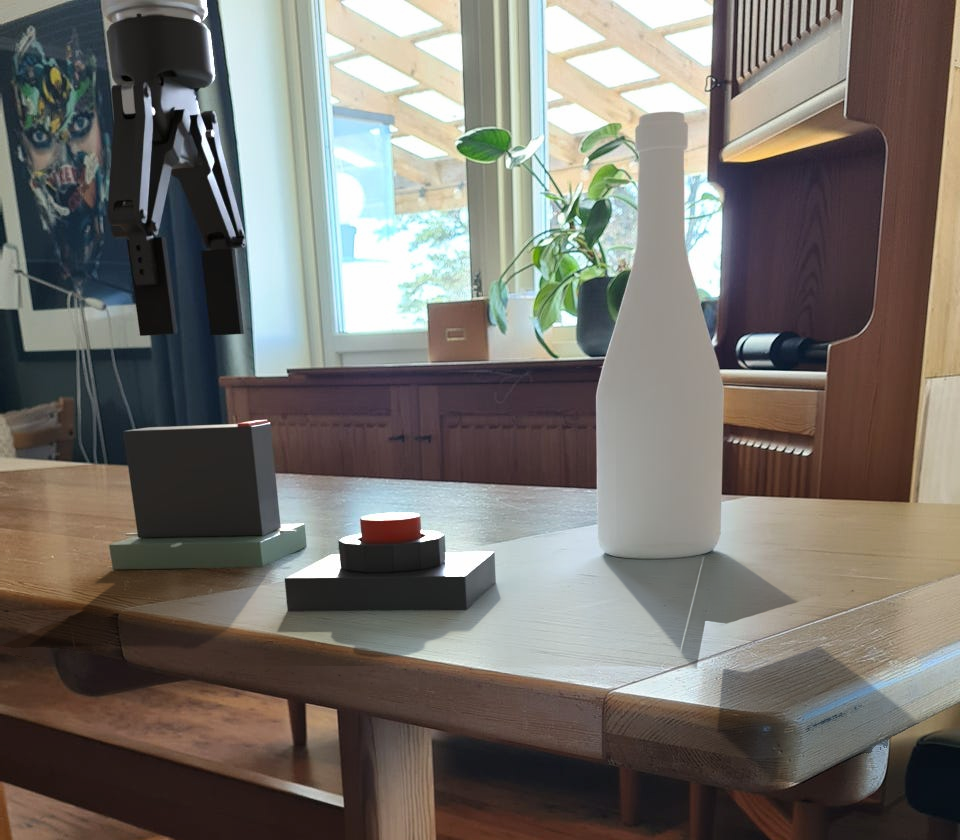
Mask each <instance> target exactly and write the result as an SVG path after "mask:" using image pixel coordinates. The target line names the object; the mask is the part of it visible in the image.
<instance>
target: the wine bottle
mask: <svg viewBox="0 0 960 840" xmlns="http://www.w3.org/2000/svg"><path fill="white" fill-rule="evenodd" d="M688 137H689V125H688V123H687V122H686V121H685V114H684V113H683V112H680V111H658V112H650V113H645V114H642V115H640V116H639V117H638V124H637V125H636V126H635V129H634V151H635V153H636V154H638V171H637V172H638V173H637V211H636V212H637V213H636V214H637V215H636V244H635V250H634V256H633V261H632V265H631V269H630V272H629V276H628V280H627V283H626V287H625V291H624V294H623V297H622V300H621V304H620V307H619V311H618V314H617V317H616V320H615V324H614V328H613V332H612V335H611V338H610V341H609V344H608V348H607V351H606V354H605V358H604V361H603V364H602V368H601V372H600V376H599V380H598V383H597V388H596V393H595V420H596V421H595V424H596V426H595V427H596V428H595V429H596V431H595V435H596V436H595V437H596V440H595V441H596V523H597V524H596V525H597V527H596V528H597V531H596V532H597V533H596V534H597V540H598V546H599V548H600V550H601V551H602V552H604V553H605V554H607V555H609V556H611V557H616V558H622V559H624V558H625V559H634V560H635V559H637V560H665V559H666V560H667V559H680V558H688V557H696V556H701V555H705V554H708V553H710V552H712V551H714V549H715V548H717V546H718V544H719V541H720V538H721V534H722V533H721V532H722V531H721V530H722V495H723V493H722V492H723V490H722V489H723V454H724V453H723V451H724V450H723V449H724V413H725V412H724V411H725V410H724V409H725V389H724V382H723V377H722V373H721V369H720V365H719V361H718V357H717V354H716V351H715V347H714V345H713V342H712V339H711V334H710V332H709V329H708V325H707V321H706V318H705V314H704V310H703V307H702V304H701V300H700V297H699V293H698V290H697V286H696V283H695V279H694V276H693V272H692V268H691V264H690V261H689V256H688V250H687V245H686V238H685V237H686V235H685V234H686V232H685V151H686V150H687V149H688V146H689V145H688V144H689V143H688V141H689V138H688Z"/></svg>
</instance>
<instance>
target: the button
mask: <svg viewBox="0 0 960 840" xmlns="http://www.w3.org/2000/svg"><path fill="white" fill-rule="evenodd" d="M421 521H422V520H421V514H419V513H415V512H384V513H375V514H374V513H373V514H368V515H364V516H361V517H359V523H360V534H361V538H362V542H398V541H409V540H414V539H419V538H422V536H421V530H422V522H421Z"/></svg>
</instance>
